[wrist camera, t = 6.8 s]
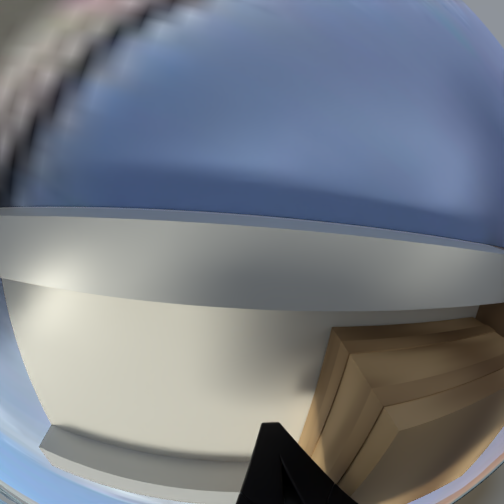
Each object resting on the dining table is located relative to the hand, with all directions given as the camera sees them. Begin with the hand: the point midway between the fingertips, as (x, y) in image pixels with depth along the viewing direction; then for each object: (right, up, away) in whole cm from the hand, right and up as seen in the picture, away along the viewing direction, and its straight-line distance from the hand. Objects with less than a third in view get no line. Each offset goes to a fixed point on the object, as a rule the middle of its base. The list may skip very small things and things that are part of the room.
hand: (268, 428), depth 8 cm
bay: (0, 0, +2) cm, 2 cm away
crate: (+6, 0, +2) cm, 6 cm away
